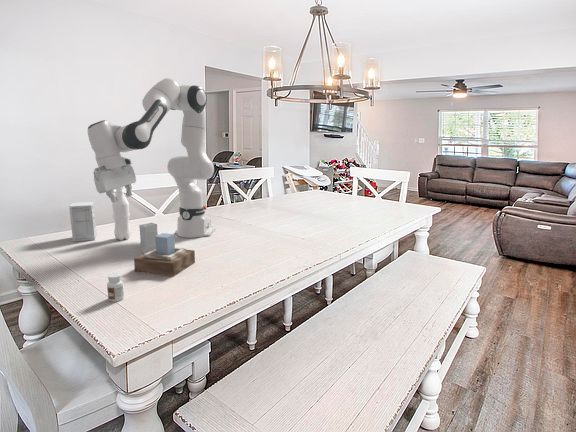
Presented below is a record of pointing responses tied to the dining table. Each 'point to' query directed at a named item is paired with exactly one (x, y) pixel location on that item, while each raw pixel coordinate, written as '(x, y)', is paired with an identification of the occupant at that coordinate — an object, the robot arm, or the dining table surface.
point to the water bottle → (121, 216)
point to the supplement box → (83, 221)
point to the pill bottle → (115, 288)
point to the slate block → (165, 244)
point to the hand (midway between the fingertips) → (122, 199)
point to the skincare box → (148, 236)
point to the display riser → (164, 262)
